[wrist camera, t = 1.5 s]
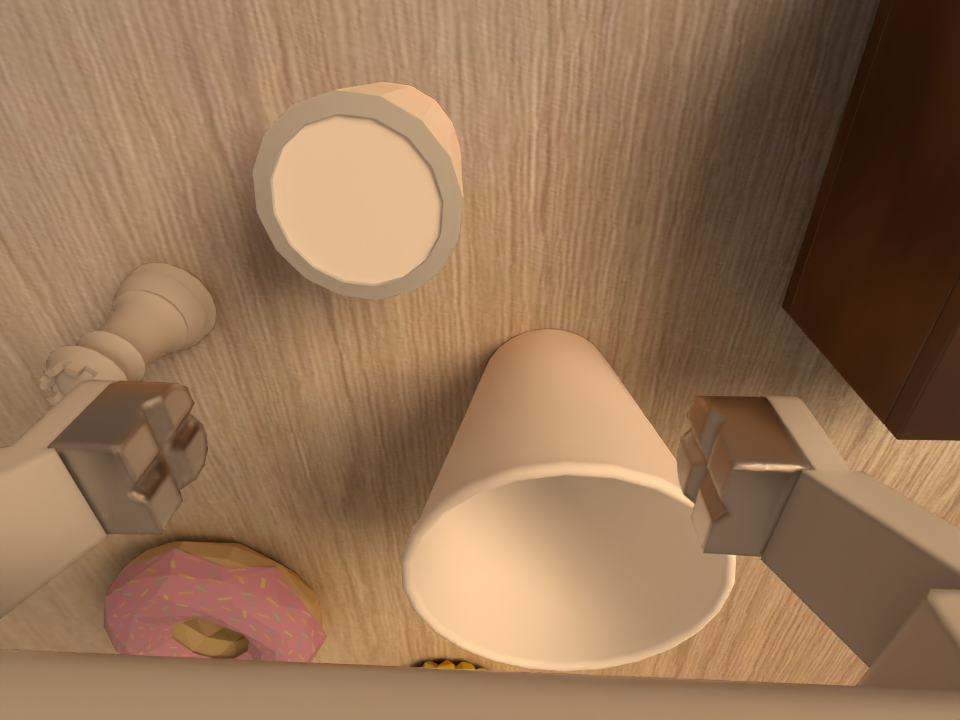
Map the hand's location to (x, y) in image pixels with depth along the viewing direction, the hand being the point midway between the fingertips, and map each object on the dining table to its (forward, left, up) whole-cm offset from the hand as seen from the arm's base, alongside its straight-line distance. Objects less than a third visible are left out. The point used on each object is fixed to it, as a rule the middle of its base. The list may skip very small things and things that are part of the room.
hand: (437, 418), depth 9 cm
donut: (+32, -20, -18) cm, 41 cm away
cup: (+12, +3, -18) cm, 21 cm away
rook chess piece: (+7, -16, -18) cm, 25 cm away
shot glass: (0, -4, -18) cm, 18 cm away
